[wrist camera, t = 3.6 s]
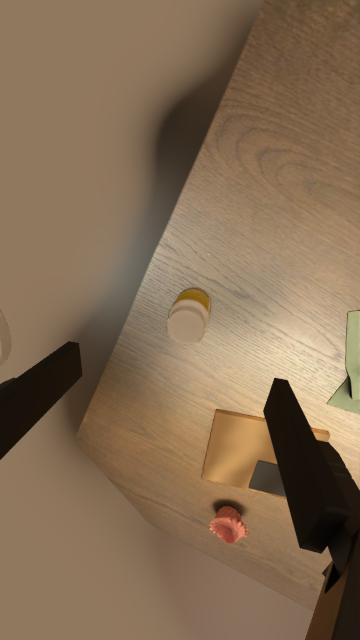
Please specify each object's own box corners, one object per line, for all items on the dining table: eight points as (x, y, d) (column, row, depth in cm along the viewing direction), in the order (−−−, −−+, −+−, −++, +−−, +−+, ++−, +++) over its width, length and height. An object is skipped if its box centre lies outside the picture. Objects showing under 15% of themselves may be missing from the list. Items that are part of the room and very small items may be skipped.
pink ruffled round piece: (212, 517, 47) (211, 551, 42) (207, 495, 44) (205, 528, 39) (248, 520, 45) (252, 556, 40) (245, 497, 42) (249, 533, 37)
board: (201, 474, 42) (201, 480, 41) (215, 408, 35) (215, 413, 34) (293, 496, 40) (295, 503, 39) (328, 431, 33) (331, 437, 32)
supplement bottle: (173, 290, 28) (157, 310, 21) (207, 283, 27) (203, 301, 20) (181, 322, 30) (169, 351, 22) (214, 316, 29) (213, 345, 21)
